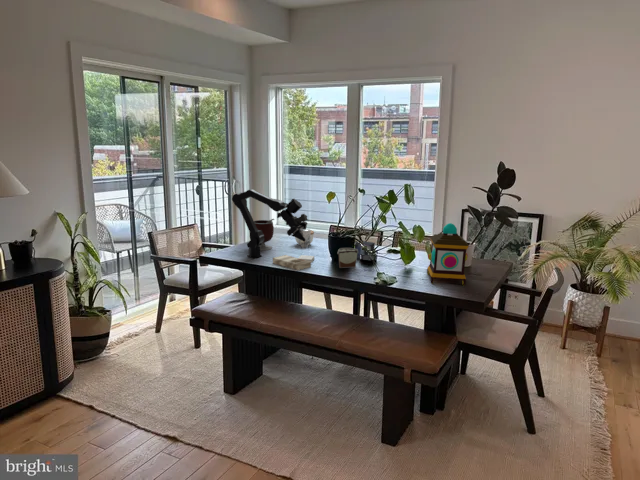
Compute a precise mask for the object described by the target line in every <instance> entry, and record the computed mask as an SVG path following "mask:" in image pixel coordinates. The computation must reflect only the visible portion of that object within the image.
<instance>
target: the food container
mask: <svg viewBox="0 0 640 480" xmlns="http://www.w3.org/2000/svg"><path fill="white" fill-rule="evenodd" d="M358 253H359V252H358V249H355V247H354V248H352V247H340V248H339V249H338V250H337V253H336V254H337V255H338V265H339V266H338V267H339V269H346V268H356V267H357V261H358V260H357V254H358Z"/></svg>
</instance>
